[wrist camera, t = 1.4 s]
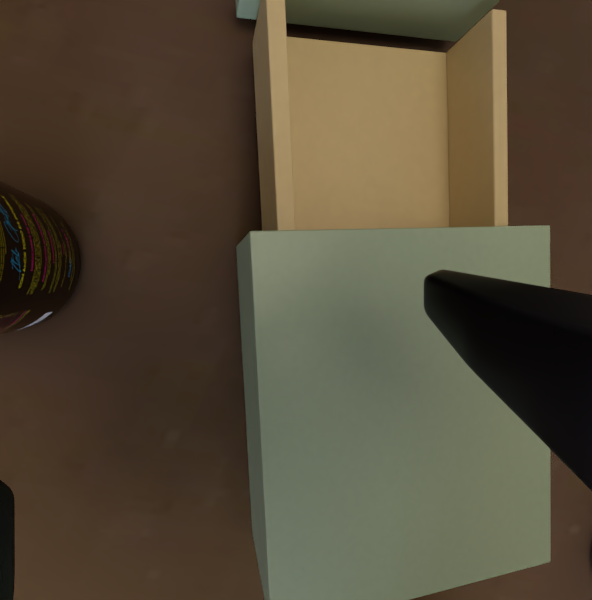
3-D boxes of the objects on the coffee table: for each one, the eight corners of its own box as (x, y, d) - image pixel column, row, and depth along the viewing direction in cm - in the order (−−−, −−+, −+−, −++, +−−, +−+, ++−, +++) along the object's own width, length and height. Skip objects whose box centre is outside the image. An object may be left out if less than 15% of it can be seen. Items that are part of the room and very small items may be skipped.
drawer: (230, -95, 19) (238, -216, 14) (454, -55, 22) (522, -145, 17) (251, 296, 20) (265, 301, 16) (460, 284, 23) (524, 285, 19)
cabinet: (235, 245, 21) (249, 230, 14) (458, 239, 24) (550, 225, 18) (252, 532, 22) (271, 637, 16) (463, 490, 25) (550, 562, 19)
